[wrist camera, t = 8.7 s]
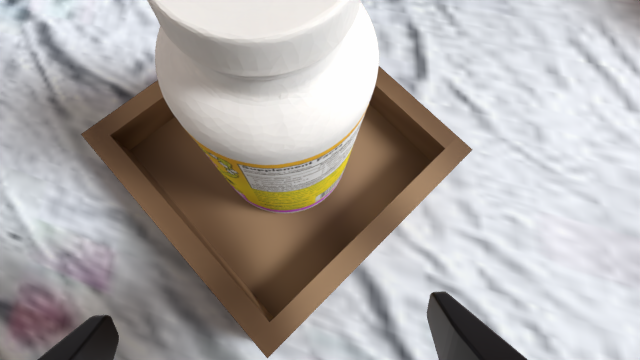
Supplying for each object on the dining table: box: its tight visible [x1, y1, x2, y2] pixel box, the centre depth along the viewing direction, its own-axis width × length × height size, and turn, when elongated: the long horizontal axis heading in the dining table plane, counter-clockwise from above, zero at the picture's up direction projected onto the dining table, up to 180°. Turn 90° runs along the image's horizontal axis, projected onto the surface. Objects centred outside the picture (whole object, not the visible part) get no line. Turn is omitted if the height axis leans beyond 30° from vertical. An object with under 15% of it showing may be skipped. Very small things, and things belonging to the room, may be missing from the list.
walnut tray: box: [81, 66, 472, 358], centre depth 19 cm, size 14×14×3 cm
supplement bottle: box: [147, 0, 379, 214], centre depth 13 cm, size 7×7×13 cm
